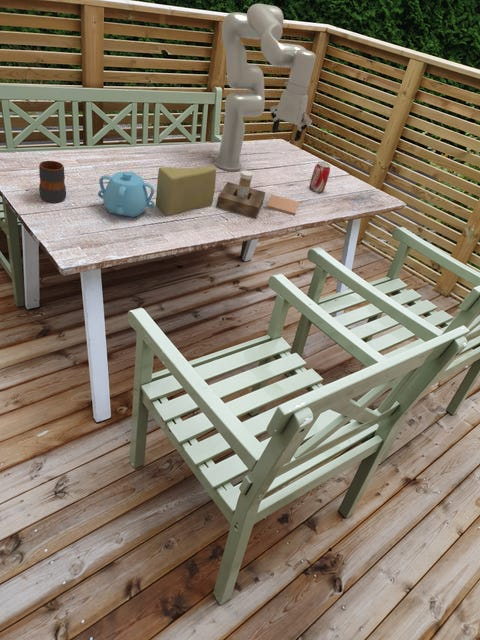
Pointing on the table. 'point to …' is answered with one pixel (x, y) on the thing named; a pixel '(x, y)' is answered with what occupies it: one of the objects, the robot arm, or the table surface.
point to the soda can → (320, 177)
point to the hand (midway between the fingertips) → (285, 136)
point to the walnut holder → (240, 200)
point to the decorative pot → (126, 194)
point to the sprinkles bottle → (244, 184)
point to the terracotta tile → (282, 204)
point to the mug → (52, 181)
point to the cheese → (184, 189)
